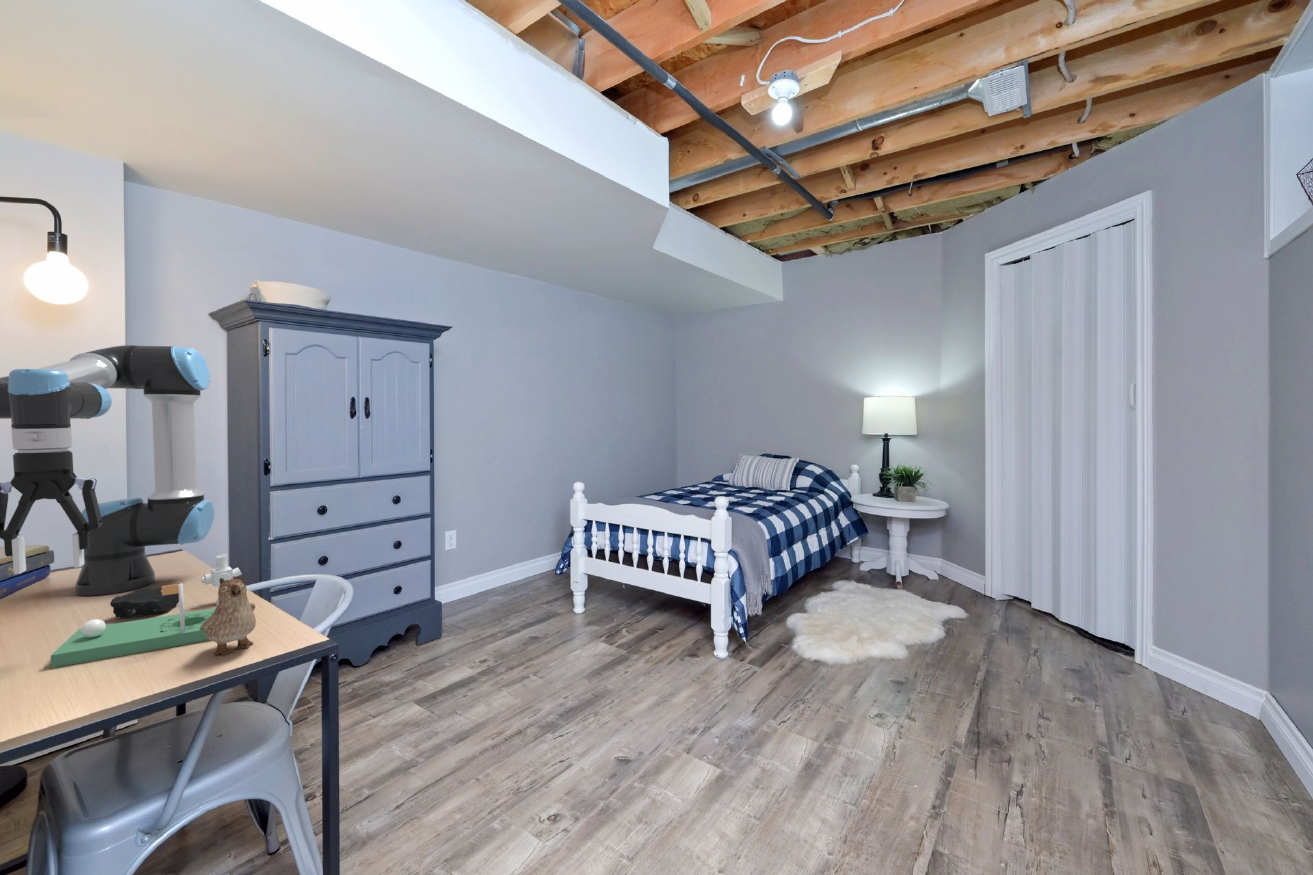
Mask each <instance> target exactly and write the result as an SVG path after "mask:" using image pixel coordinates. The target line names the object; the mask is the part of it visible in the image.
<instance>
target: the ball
mask: <svg viewBox="0 0 1313 875" xmlns="http://www.w3.org/2000/svg"><path fill="white" fill-rule="evenodd" d="M106 625H107V624H106V622H105V621H104V620H102V619H100V618H98V619H97V618H95V619H90V620H88V621H86V622H85V623H84V624H83V625H82V626H81V627H80V629H81V633H82V635H83V636H85V637H88V638H93V637H97V636H99V635H101V634H102V633H103V632H104V631H105V629H106Z"/></svg>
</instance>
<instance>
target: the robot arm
mask: <svg viewBox="0 0 1313 875" xmlns="http://www.w3.org/2000/svg"><path fill="white" fill-rule="evenodd" d="M209 370H210V369H209V366H208V363H207V362H206V360H205V358H204V356H203V355H202V354H201V353H200V352H199V351H198V350H196V349H195V348H192V347H183V346H176V345H175V346H174V345H173V346H162V345H161V346H160V345H131V344H130V345H128V344H127V345H124V344H123V345H115V346H110V347H106V348H105V347H104V348H100V349H95V350H91V351H87V352H81V353H77V354H75V355H73V357H71V358H70V359H69V360H68V361H64V362H59V363H56V364H51V365H49V366H48V365H46V366H44V367H43V366H42V367H40V368H15V369H12V370H10V372H9V374H8V375H7V376H2V377H0V419H1V420H2V419H3V420H4V419H6V420H7V419H8V420H10V419H11V422H10V423H11V424H10V426H11V441H12V449H13V450H14V451H17V452H15V453H14V454H12V461H13V474H14V475H13V478H11V480H10V481H6V482H0V540H3V545H4V555H5V556H6V557H12V566H13V575H21V574H22V573H24V572H25V571H27V561H26V544H25V536H20V532H21V530H22V528H23V526H24V523H25V522H26V519H27V517H28V516H29V513H30V511H31V509H32V507H33V505H34V503H36V501H39V500H44V499H45V500H55V501H56V503H58V504H59V505H60V507H61V508H62V510H63V512H65V515H66V516H67V518H68V519H69V521H70V522H71V524H72V526H73V527H74V529H75V530H76V532H75V533H73V534H72V535H71V541H72V558H73V569H76V568H77V569H78V568H80V567H81V569H80V571H79V574H78V577H77V580H76V582H75V590H74V591H75V594H76V595H78V596H84V597H85V596H86V597H87V596H89V597H90V596H91V597H92V596H102V595H110V594H111V595H112V594H118V593H123V592H128V591H132V590H133V591H134V590H138V589H141V588H144V587H147V586H148V585H151V584H152V583H154V582H155V581H156V574H155V570H154V569H153V567H152V565H151V563H150V560H149V559H148V557H147V554H146V547H153V546H156V547H157V546H165V545H166V546H169V545H180V546H182V545H185V544H193V543H198V542H201V541H203V540H204V539H205V538H206V537H207V535H208V534H209V532H210V531H211V528H212V526H213V523H214V519H215V506H214V503H213V502H212V501H211V500H208V499H205V494H204V492H203V491H201V490H200V489H199V488H198V487H197V485H198V484H197V464H196V463H197V461H196V459H197V458H196V433H195V432H196V431H195V402H196V401H197V400H199V398H201V391H205V390H207V389H208V388H209V386H210V381H211V380H210V379H211V377H210V371H209ZM107 389H123V390H124V389H127V390H128V389H129V390H131V389H132V390H143V397H145V398H146V399H147V400H149V401H150V403H151V419H152V441H153V442H152V445H153V446H152V447H153V469H154V470H153V471H154V472H153V474H154V475H153V476H154V490H153V492H152V493H151V494H149V495H148V497H147V502H144V500H143V498H142V497H129V498H123V499H117V500H112V501H106V502H101V503H99V502H98V498H97V493H96V491H95V490H96V487H97V482H98V481H97V479H96V478H81V477H78V476H77V475H76V474H75V472H74V457H73V456H74V455H73V454H74V453H73V452H72V451H71V450H69V449H70V448H72V447H73V439H72V427H71V425H72V424H71V420H73V419H81V420H84V419H86V420H89V419H92V418H97V417H101V416H104V415H105V414H107V413H108V411H109V410H110V408H111V407H112V396H111V394H110V393H109V391H108V390H107ZM75 484H76V485H77V486H78V490H79V489H80V490H81V496H82V500H83V504H84V508H83V510H82V512H81V510H80V509H79V507H78V505H77V504H76V502H75V500H74V499H73V496H72V494H71V492H70V490H71V489H73V487H74V486H75ZM12 488H14V489H15V490H16V491H17V492H19V493H20V494H21V496H20V498H19V501H18V502H17V503H18V504H17V507H16V509H15V510H14V513H13V515H12V517H11V518H10V521H9V523H8V525H7V527H6V528H5V526H6V516H7V510H8V502H9V494H10V493H11V492H12Z"/></svg>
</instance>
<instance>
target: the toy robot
mask: <svg viewBox="0 0 1313 875" xmlns="http://www.w3.org/2000/svg"><path fill="white" fill-rule="evenodd" d="M214 559H215V568H213V569H211V573H206V574H204V576H201V583H202V584H203V583H204V585H210V584H211V585H212V586H213V587H214V588H215V587H218V589H219V587H220V578H223V579H224V580H230V579H234V577H236V578H237V577H238V576H239V575H243V573H242V572H241V570H240V568H239V567H235V568H232V567H231V566H228V553H223V554H220V555H217V556H215V557H214ZM218 603H219V596H218V595H217V600H216V601H215V602H214V604H215V606H216V607H217V606H218Z"/></svg>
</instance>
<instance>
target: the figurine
mask: <svg viewBox="0 0 1313 875" xmlns="http://www.w3.org/2000/svg"><path fill="white" fill-rule="evenodd" d="M242 575H243V574H242ZM242 575H239V576H236V578H233V579H230V580H224V579H223V578H220V587H219V588H218V592H217V597H218V596H219V603H218V606H216V607H215V608H216V609H215V608H214V609H215V611H214V613H213V614H212V615H211V617H210V618H209V619H207V620H206V621H205V622H204V623H203V624H202V626H201V627H200V628H199V630H205V635H206V638H207V639H209V641H211V642H214V643H216V650H215V652H214V653H213V656H217V655H227V654H228V653H229V652H230V651H231V649H230V648H228V647H227V646H228V645H227V643H231V642H235V641H237V645H236V647H235V648H234V650H240V649H241V650H242V649H249V647H250V646H251V645H254V642H252V641H251V640H249V638H248V637H247V636H248V635H250V634H251V633H252V632H253V631H254V629H255V628H256V625H257V624H256V623H257V621H256V620H257V619H256V615H255V613H254V611H255V609H256V605H255V603H253V602H250V601H249V599H248V595H247V586H246V583H244V582H243V581H242V577H243V576H242Z"/></svg>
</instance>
